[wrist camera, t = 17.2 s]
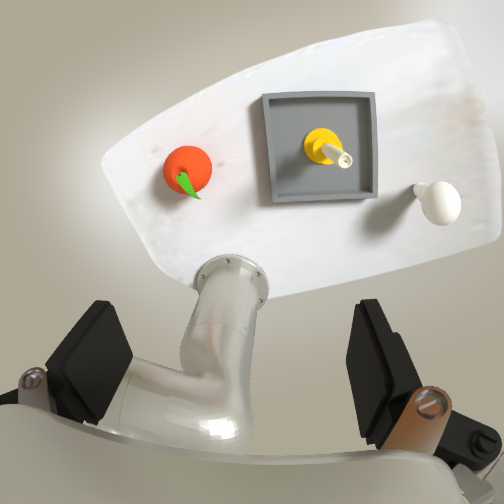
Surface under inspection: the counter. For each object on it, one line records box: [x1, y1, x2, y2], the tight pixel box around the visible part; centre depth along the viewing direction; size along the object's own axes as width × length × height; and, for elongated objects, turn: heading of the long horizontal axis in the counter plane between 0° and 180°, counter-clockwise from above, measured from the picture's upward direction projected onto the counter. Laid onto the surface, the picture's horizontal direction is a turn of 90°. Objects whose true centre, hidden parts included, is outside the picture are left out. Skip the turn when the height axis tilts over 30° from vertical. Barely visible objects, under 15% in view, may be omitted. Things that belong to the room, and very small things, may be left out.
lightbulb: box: [413, 182, 461, 226], centre depth 35 cm, size 6×6×11 cm
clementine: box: [163, 146, 212, 199], centre depth 39 cm, size 8×7×7 cm
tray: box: [262, 91, 378, 203], centre depth 37 cm, size 16×16×2 cm
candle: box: [304, 128, 352, 168], centre depth 31 cm, size 5×5×16 cm
